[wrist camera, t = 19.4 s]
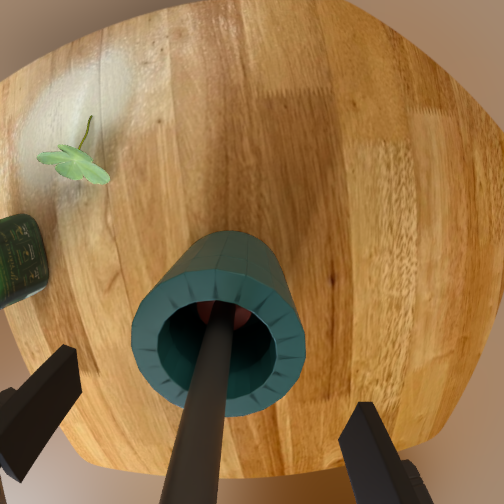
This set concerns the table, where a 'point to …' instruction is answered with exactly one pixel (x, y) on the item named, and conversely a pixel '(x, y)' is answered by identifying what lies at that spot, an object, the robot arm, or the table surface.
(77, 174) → the seedling
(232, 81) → the table surface
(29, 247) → the coffee jar
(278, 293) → the cup
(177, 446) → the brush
